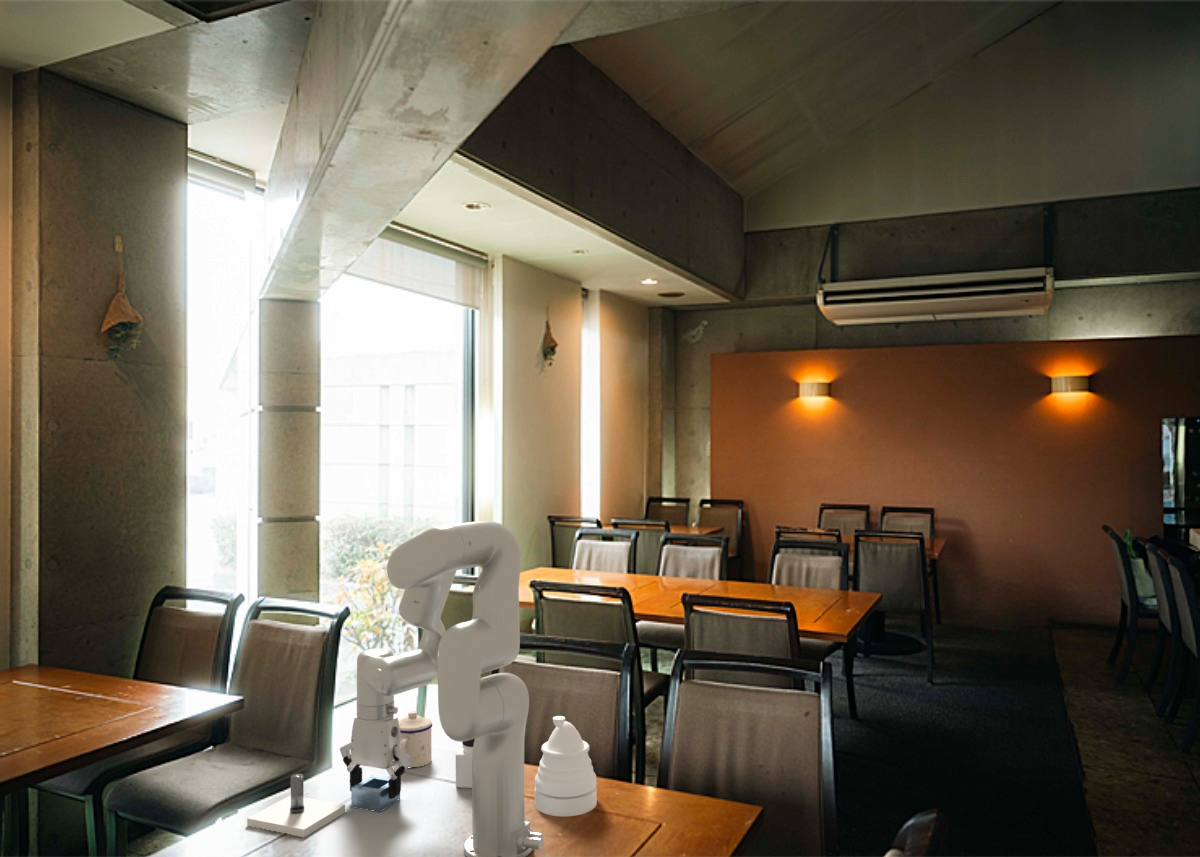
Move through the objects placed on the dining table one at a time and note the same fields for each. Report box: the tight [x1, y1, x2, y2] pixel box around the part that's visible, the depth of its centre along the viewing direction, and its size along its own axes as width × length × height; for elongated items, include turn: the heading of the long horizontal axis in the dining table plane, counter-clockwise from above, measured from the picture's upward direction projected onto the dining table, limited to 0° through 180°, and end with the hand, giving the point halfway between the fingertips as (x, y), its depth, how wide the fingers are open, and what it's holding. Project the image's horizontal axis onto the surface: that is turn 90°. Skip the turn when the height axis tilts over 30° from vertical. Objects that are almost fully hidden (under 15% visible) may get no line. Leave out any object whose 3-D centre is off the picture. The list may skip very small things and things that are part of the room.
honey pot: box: [534, 715, 598, 817], centre depth 176 cm, size 13×13×18 cm
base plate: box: [246, 794, 346, 838], centre depth 169 cm, size 14×12×2 cm
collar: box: [350, 775, 401, 812], centre depth 176 cm, size 7×7×4 cm
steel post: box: [290, 773, 305, 814], centre depth 169 cm, size 3×3×7 cm
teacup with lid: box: [398, 711, 433, 768], centre depth 198 cm, size 12×9×12 cm
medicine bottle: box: [455, 739, 475, 789], centre depth 187 cm, size 7×7×12 cm
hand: (375, 792), depth 177 cm, fingers open, 9 cm apart
